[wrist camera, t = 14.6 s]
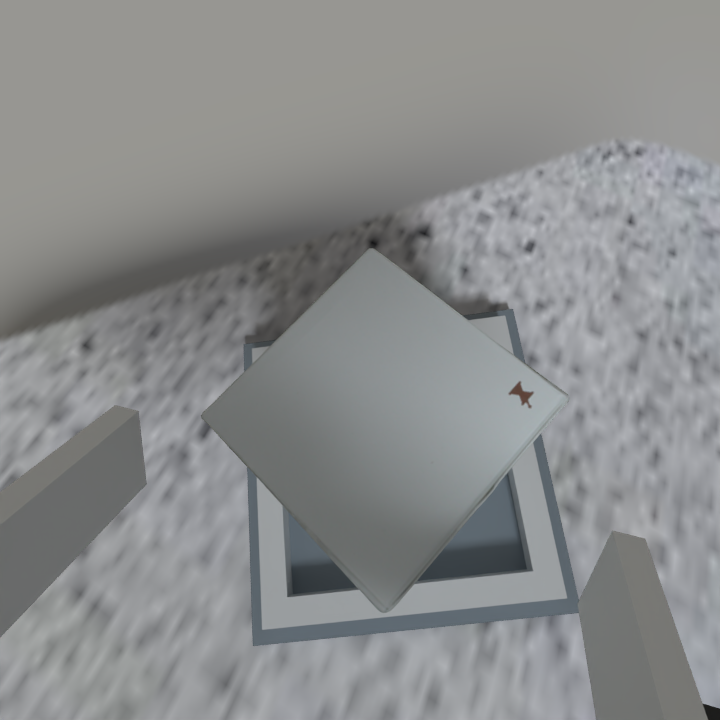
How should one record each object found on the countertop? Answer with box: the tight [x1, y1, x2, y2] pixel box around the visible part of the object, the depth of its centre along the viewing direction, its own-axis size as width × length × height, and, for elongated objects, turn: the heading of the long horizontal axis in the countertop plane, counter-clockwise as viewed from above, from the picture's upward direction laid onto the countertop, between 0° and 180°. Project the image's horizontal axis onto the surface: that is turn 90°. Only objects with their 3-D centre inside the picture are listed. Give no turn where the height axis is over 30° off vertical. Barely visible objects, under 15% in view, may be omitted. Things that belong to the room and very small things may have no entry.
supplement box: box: [201, 248, 569, 613], centre depth 19 cm, size 7×7×13 cm
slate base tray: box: [244, 309, 579, 646], centre depth 25 cm, size 15×15×2 cm
